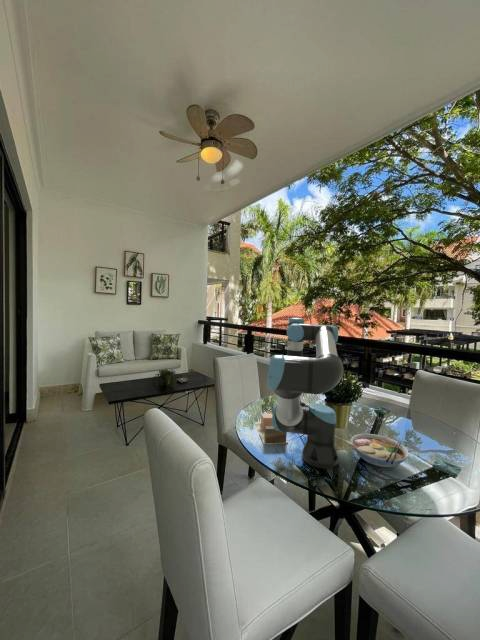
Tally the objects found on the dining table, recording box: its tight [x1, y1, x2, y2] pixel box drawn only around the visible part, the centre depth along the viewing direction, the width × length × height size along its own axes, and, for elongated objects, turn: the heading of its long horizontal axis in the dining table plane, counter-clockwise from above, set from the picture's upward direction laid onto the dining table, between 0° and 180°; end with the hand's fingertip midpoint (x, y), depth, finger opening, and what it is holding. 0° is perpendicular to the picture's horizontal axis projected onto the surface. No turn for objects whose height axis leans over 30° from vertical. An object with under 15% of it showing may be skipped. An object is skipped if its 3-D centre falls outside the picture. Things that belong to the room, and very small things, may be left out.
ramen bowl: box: [350, 433, 410, 468], centre depth 126 cm, size 25×23×8 cm
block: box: [260, 412, 273, 429], centre depth 157 cm, size 6×6×6 cm
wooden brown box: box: [254, 421, 289, 445], centre depth 151 cm, size 24×12×8 cm, turn 8°
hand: (293, 391), depth 144 cm, fingers open, 13 cm apart
